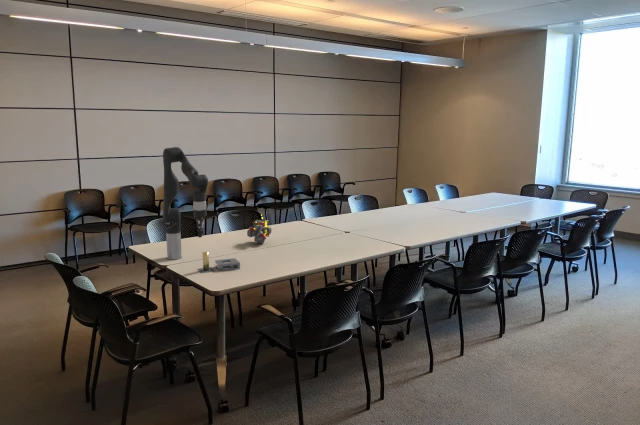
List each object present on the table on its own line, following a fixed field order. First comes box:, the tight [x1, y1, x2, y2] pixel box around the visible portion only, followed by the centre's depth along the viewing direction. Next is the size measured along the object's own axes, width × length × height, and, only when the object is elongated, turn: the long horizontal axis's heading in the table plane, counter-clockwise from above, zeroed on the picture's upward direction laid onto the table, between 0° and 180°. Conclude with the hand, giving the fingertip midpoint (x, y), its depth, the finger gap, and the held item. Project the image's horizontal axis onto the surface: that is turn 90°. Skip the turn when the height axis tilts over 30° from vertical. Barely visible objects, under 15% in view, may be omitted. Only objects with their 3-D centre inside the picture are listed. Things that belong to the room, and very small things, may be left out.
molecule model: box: [246, 214, 274, 245], centre depth 373 cm, size 25×21×23 cm
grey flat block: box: [214, 258, 241, 272], centre depth 310 cm, size 11×12×4 cm
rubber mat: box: [196, 266, 216, 274], centre depth 305 cm, size 10×9×1 cm
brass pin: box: [202, 251, 210, 271], centre depth 304 cm, size 4×4×11 cm
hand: (200, 235), depth 298 cm, fingers open, 8 cm apart
